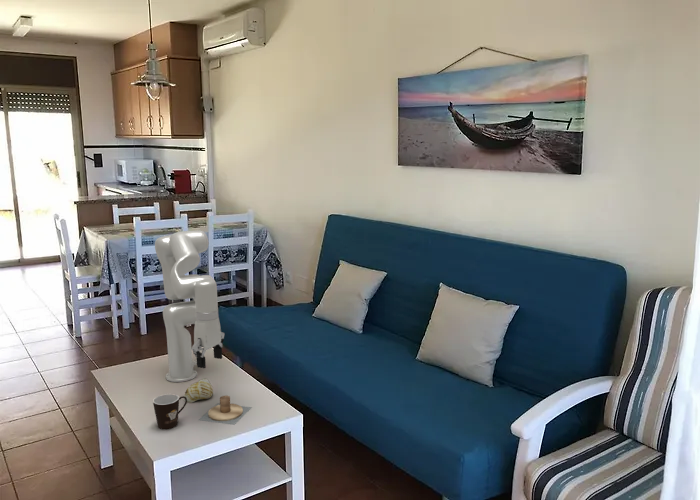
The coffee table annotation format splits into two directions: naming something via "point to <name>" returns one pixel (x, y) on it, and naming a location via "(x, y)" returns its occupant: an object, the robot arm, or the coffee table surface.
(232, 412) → the lid
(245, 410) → the mat
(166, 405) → the coffee mug
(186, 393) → the seashell
